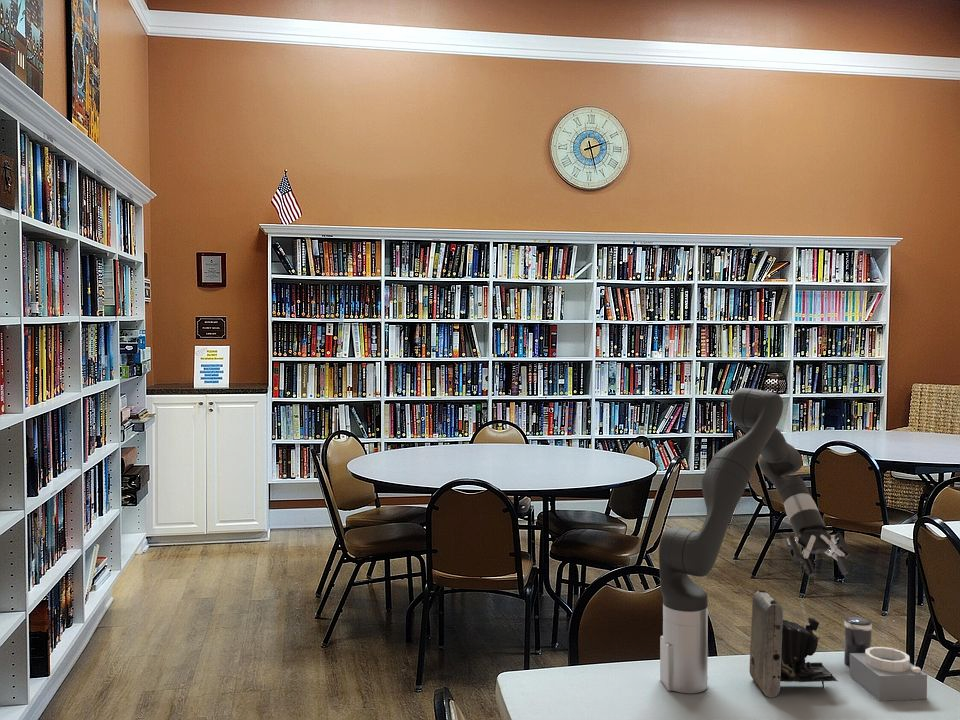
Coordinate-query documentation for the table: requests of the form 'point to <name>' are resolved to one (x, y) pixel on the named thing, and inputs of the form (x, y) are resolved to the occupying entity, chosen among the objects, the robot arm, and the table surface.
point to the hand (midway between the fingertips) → (829, 574)
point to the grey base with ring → (888, 674)
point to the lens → (856, 636)
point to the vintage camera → (781, 648)
